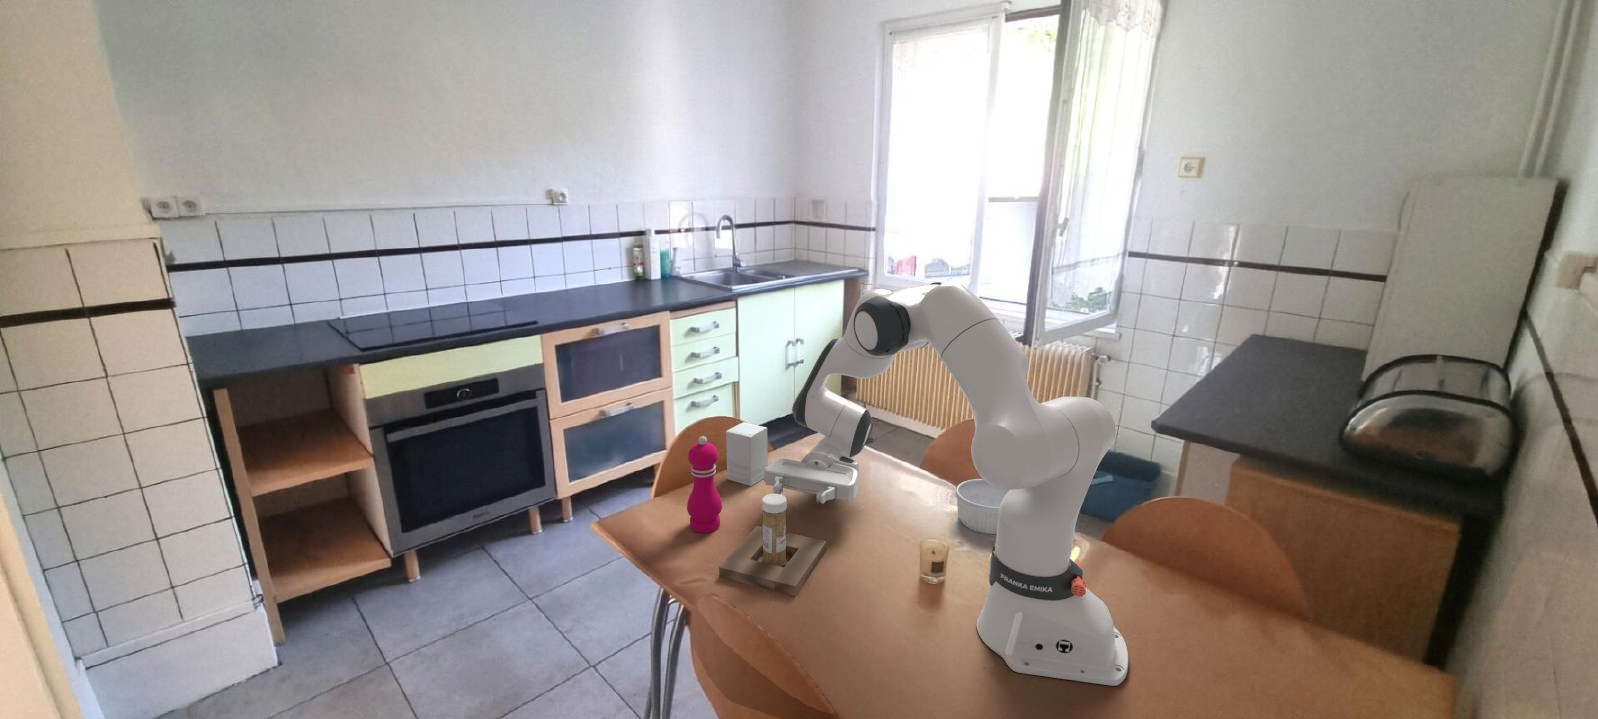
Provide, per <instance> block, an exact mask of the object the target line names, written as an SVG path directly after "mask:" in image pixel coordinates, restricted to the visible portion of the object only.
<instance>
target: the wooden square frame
mask: <svg viewBox="0 0 1598 719" xmlns="http://www.w3.org/2000/svg"><path fill="white" fill-rule="evenodd" d="M826 551H827V541H826V540H822V539H818V538H813V537H809V536H804V535H800V534H795V533H792V532H787V531H786V556H790V557H791V558H790V559H789V561H788V562H787V564H786V565H784V566H785V567H784V566H782V567H780V566H776V565H772V564H767V563H763V561H758V560H759V559H760V557H761V556H763V526H759V525H756V526H755V527H754V529H752V531H751V532H749V534H748V535H747V536H746V537H745V538H744V539H743V540H742V541H741V542H740V544H739V545H738V546H737V547H736V548H735V549H734V550H733V552H731V553H730V555H728V556H727V558H726V559H725V560H724V561H723V562H722V563H721V564H720V566H718V567H719V568H718V571H719V572H718V574H719V575H718V576H719V577H720V578H723V579H726V580H727V579H728V580H730V581H735V582H739V583H742V584H746V585H750V586H755V587H758V588H762V589H765V590H769V591H773V592H777V593H781V594H784V595H789V596H793V597H796V596H797V594H798V593H799V591H800V590H801V588H802V587H803V586H804V584H805V583H806V582H807V580H808V578H809V576H810V575H811V574H812V572H813V571H814V569H815V568H816V567H817V565H818V563H819V562H820V560H821V559H822V558H823V557H824V554H825V553H826Z"/></svg>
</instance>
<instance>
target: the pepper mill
mask: <svg viewBox="0 0 1598 719" xmlns="http://www.w3.org/2000/svg"><path fill="white" fill-rule="evenodd" d="M697 440H698V442H697V443H695V444H693V445H692V446H691V447H690V448H689V451H688V453H687V456H688V457H687V459H688V462H689V464H691V466H690V469H691V471H690V473H691V475H692V476H693V486H692V490H691V493H690V495H689V497H688V499H687V503H686V512H687V514H688V515H689V516H690V518H689V528H690V529H691V530H692V531H694V532H695V533H700V534H708V533H713V532H716V531H717V530H718V529H719V528H720V526H721V516H720V515H721V512H722V510H723V501H722V499H721V498H722V497H721V495H720V494H719V492H718V490H717V487H716V484H715V479H714V477H715V474H716V472H717V470H716V468H717V466H716V463H717V461H718V459H719V458H718V457H719V453H718V450H717V447H716V446H715V445H714V444H713V443H710V442H708V439H707V437H706V436H705V435H702V436H699V437H698V439H697Z"/></svg>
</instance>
